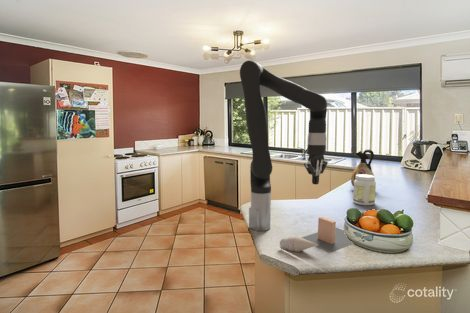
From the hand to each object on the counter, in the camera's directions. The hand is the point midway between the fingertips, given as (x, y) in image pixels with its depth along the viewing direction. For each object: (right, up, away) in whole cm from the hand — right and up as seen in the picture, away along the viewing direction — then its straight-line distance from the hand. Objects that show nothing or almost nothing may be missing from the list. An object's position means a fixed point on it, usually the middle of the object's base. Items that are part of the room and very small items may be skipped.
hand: (315, 183), depth 125 cm
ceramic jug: (+57, -13, +83) cm, 102 cm away
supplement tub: (+44, -17, +53) cm, 71 cm away
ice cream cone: (-10, -25, -13) cm, 30 cm away
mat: (+6, -23, -2) cm, 24 cm away
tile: (+3, -23, -4) cm, 24 cm away
